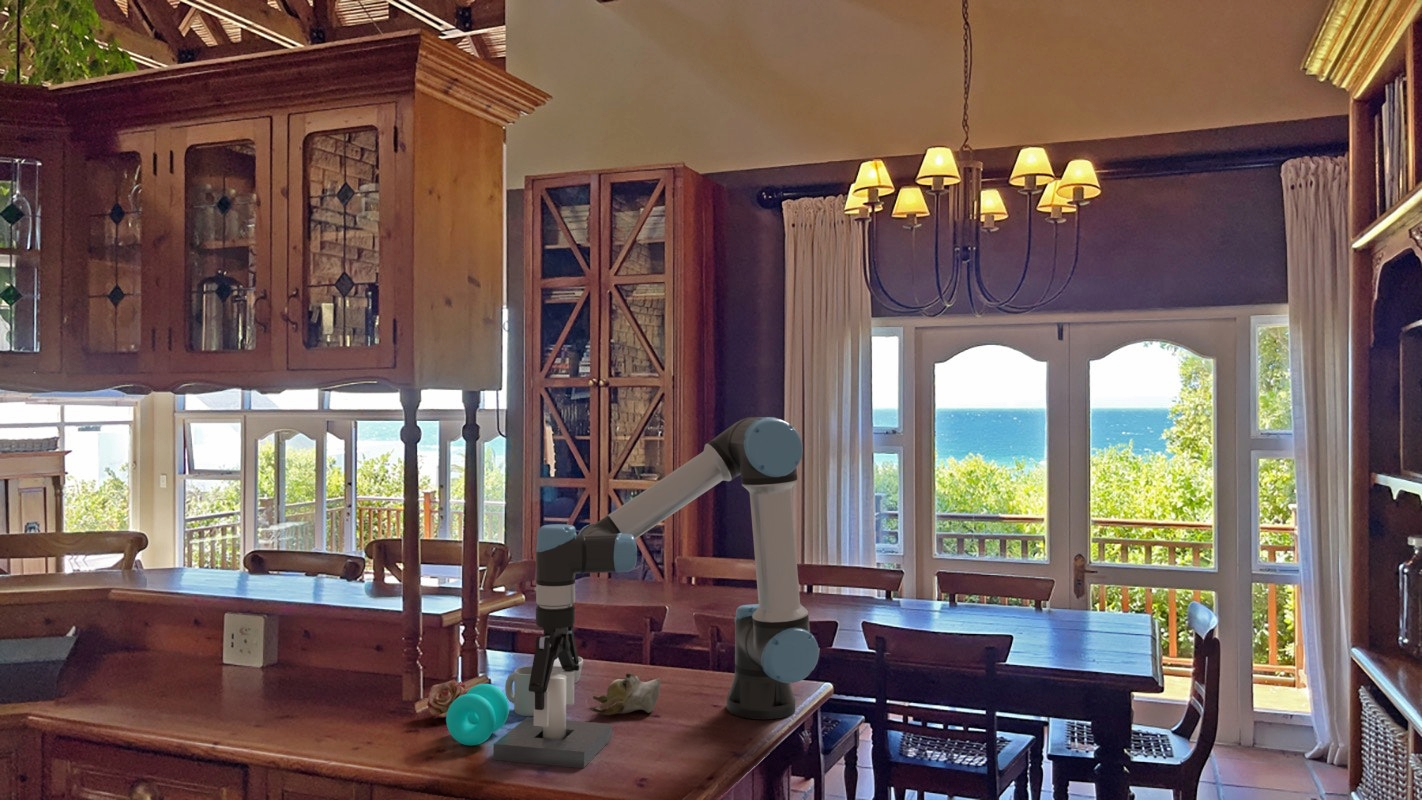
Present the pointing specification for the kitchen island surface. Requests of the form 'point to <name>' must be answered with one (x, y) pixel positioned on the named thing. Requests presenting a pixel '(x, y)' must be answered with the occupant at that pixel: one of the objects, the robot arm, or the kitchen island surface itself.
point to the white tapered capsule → (556, 708)
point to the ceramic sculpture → (629, 696)
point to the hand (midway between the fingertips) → (554, 714)
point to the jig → (553, 744)
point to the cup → (520, 691)
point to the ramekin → (558, 668)
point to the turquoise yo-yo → (477, 714)
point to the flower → (444, 697)
